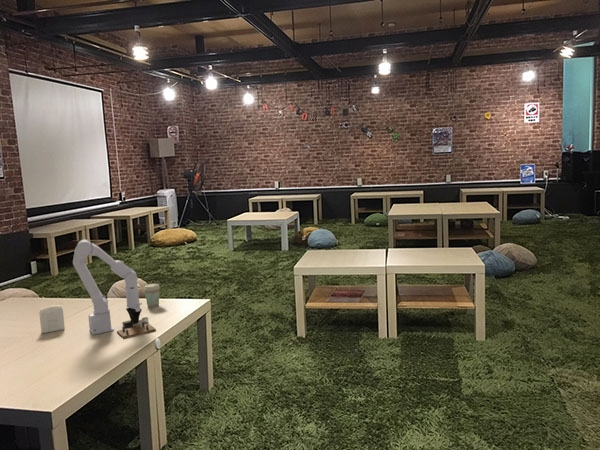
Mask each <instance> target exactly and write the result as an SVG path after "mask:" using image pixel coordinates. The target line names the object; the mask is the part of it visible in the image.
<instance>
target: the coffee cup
mask: <svg viewBox="0 0 600 450" xmlns="http://www.w3.org/2000/svg"><path fill="white" fill-rule="evenodd" d="M160 289H161V287H160V285H159V283H149V284H145V285H144V287H143V291H144V295H145V300H146V305H147V308H148V309H154V308H155V309H156V308H159V306H160Z"/></svg>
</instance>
